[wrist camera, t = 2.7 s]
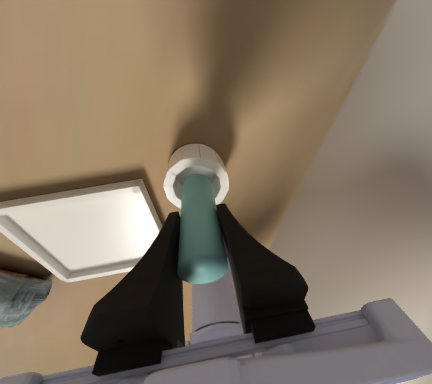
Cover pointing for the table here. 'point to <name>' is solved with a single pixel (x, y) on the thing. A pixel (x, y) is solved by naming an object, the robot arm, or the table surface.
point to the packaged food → (20, 296)
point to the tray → (84, 229)
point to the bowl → (195, 171)
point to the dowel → (200, 234)
